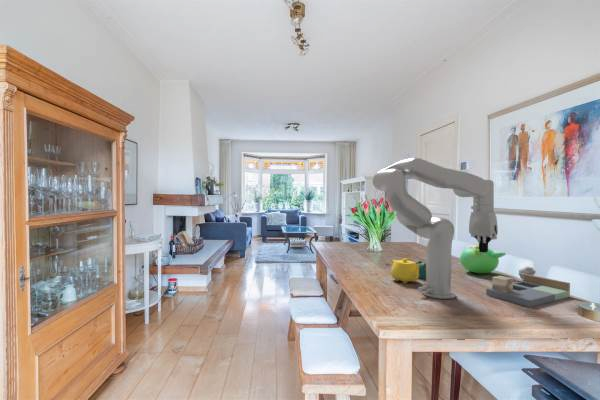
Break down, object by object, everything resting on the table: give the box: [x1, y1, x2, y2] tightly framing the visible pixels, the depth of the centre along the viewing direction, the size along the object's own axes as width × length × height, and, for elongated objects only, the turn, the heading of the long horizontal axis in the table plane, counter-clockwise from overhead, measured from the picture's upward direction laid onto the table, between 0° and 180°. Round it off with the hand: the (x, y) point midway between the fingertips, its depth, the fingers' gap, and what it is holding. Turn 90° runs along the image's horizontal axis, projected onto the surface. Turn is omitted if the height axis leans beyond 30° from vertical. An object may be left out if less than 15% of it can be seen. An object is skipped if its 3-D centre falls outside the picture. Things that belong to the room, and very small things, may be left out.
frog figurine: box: [518, 266, 536, 281], centre depth 147 cm, size 6×7×7 cm
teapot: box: [390, 258, 421, 285], centre depth 146 cm, size 18×11×11 cm, turn 28°
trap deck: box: [485, 274, 571, 308], centre depth 124 cm, size 28×16×6 cm, turn 116°
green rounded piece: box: [459, 243, 507, 274], centre depth 162 cm, size 18×17×15 cm
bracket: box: [413, 260, 426, 280], centre depth 157 cm, size 18×7×8 cm, turn 114°
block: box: [491, 275, 514, 293], centre depth 124 cm, size 5×5×5 cm
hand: (483, 251), depth 131 cm, fingers closed
